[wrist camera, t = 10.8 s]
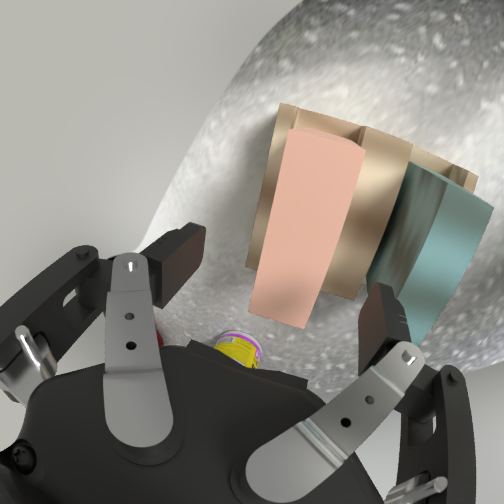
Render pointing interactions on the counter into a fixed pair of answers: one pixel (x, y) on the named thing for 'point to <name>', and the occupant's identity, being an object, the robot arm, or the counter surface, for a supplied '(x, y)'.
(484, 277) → the counter surface
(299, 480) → the robot arm
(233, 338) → the supplement bottle
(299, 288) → the coral book
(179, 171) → the counter surface
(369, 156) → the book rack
